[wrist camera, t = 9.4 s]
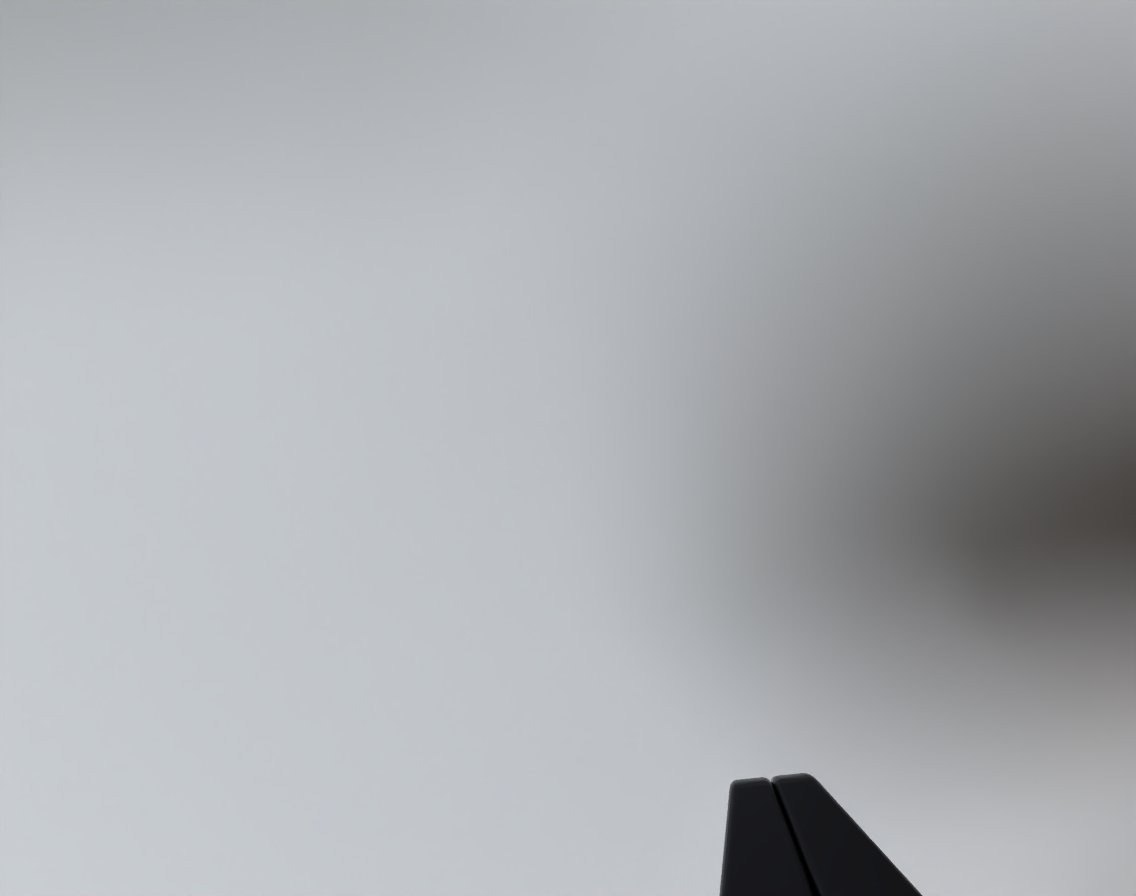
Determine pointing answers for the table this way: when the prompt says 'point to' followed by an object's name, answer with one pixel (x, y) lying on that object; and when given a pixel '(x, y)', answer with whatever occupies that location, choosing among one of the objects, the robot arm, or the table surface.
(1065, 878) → the table surface
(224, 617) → the table surface
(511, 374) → the table surface
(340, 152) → the table surface
